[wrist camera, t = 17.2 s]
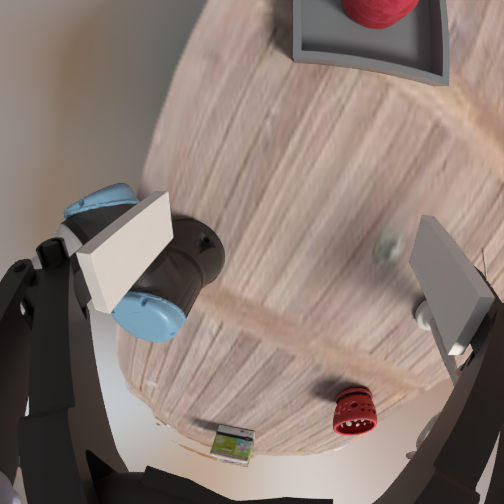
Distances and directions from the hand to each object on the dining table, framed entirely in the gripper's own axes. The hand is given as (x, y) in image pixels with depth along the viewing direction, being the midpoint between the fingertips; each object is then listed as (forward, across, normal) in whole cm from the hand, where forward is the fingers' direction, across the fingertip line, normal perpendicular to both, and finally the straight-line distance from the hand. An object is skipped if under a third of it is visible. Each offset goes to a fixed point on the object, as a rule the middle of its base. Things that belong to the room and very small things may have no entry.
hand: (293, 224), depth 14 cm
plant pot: (+37, -24, +71) cm, 84 cm away
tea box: (+37, +14, +111) cm, 118 cm away
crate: (+37, -10, -25) cm, 45 cm away
